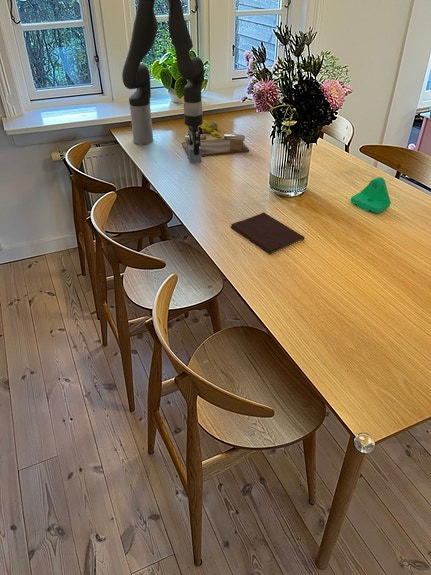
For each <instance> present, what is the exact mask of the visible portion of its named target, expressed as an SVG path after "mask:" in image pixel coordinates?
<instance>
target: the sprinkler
mask: <svg viewBox="0 0 431 575" xmlns="http://www.w3.org/2000/svg"><path fill="white" fill-rule="evenodd" d="M198 129H199V131H200V134H202V133H205V132H206V133H207V134H210V135H211V136H212V137H214V138H215V139H222V135H221V134H220V133H219V131H217V130H218V124H217V122H216V121H213V123H211V124H209V123H208V121H207V120H206V118H203V123H202V125H200V126H198Z"/></svg>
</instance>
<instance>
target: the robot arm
mask: <svg viewBox="0 0 431 575" xmlns="http://www.w3.org/2000/svg"><path fill="white" fill-rule="evenodd" d="M181 1H182V0H166V2H167V6H168V20H167V21H168V22H167V26H168V33H169V36H170V39H171V42H172V45H173V48H174V49H175V50H174V51H175V58H176V59H175V60H176V65H177V66H176V67H177V70H178V73H179V75H180V76H181V77H182V78H183V79H184V80H185V81H186V80H187V81H188V82H187V83H186V84H185V86H183V118H184V125H185V126H187V135H188V136H189V139H190V145H193V146H194V155H199V146H200V145H201V144H200V141H201V140H200V135H201V133H200V131H199V129H198V127H200V126H201V125H202V123H203V119H204V118H203V102H202V87H203V82H204V78H205V66H204V61H203V60H202V59H201V58H200V57H199V56H193V57H191V50H192V49H193V47H194V43H193V40H192V38H191V35H190V34H191V33H190V31H189V29H188V26H187V22H186V19H185V16H184V11H183V6H182V2H181ZM155 2H156V0H137V6H136V13H135V17H134V21H133V26H132V32H131V38H130V43H129V48H128V51H127V55H126V59H125V61H124V64H123V69H122V74H121V75H122V76H121V80H122V83H123V86H124V87H125V88H126V89H128V90H135V89H136V90H135V92H133V93H132V94H131V95H130V96H129V98H128V103H129V111H130V121H131V128H132V137H133V143H134V144H136V145H142V146H143V145H149V144H152V143H153V142H154V138H153V137H154V134H153V123H152V122H153V120H152V112H151V111H152V110H151V94H152V93H151V90H152V89H151V77H150V76H151V75H150V71H149V68H148V67H147V66H146V64H144V63H142V61H143V60H144V58H145V57H146V56H147V55H148V53H149V52H150V51H151V50H152V48H153V46H154V44H155V42H156V37H157V34H158V29H159V28H158V26H159V25H158V20H157V17H156V13H155ZM203 124H204V123H203ZM196 141H197V142H198V143H196Z"/></svg>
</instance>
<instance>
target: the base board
mask: <svg viewBox="0 0 431 575" xmlns="http://www.w3.org/2000/svg"><path fill="white" fill-rule="evenodd" d="M231 135H240V134H237V133H232V134H231ZM186 136H188V134H187V135H186ZM196 143H198V142H197V141H196ZM200 144H201V145H200V147H201V157H210V156H209V155H211V156H220V155H230V154H240V153H249V152H250V149H249V147H248V146H247V145H246V144H245V143H244V141H242V138H235V137H231V138H230V140H224V138H215V139H206V140H200ZM181 145H182V147H183V150H184V152H185V154H186V156H187V157H188V148H187V145H190V139H189V138H188V141H187V142H186V141H181Z"/></svg>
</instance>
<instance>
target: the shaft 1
mask: <svg viewBox="0 0 431 575" xmlns="http://www.w3.org/2000/svg"><path fill="white" fill-rule="evenodd" d="M184 138H185V142H187V141H188V138H189V136H187V135H185V136H184ZM202 140H207V135H206V134H205V133H204V134H202V133H201V134H200V141H202Z"/></svg>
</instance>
